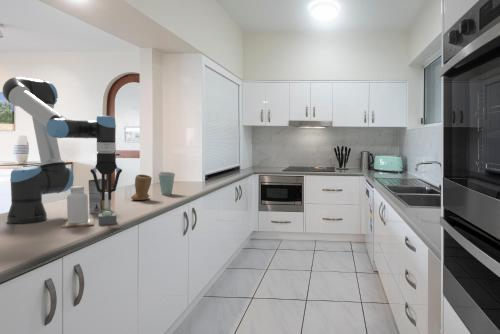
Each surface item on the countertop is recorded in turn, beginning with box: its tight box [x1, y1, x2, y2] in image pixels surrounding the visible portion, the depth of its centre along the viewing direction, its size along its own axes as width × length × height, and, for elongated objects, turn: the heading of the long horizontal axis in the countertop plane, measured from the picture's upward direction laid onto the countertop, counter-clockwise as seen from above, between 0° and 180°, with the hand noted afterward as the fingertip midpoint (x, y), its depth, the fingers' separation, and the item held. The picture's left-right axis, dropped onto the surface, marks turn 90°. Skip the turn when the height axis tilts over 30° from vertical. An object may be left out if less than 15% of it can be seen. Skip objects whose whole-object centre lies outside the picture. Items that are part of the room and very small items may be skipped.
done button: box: [103, 210, 112, 216], centre depth 171 cm, size 3×3×4 cm
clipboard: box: [61, 217, 95, 229], centre depth 169 cm, size 12×14×1 cm
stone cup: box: [130, 174, 152, 201], centre depth 240 cm, size 15×12×15 cm
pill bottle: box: [66, 185, 89, 224], centre depth 169 cm, size 8×8×15 cm
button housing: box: [98, 212, 117, 226], centre depth 172 cm, size 7×7×4 cm
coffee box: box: [88, 178, 112, 214], centre depth 198 cm, size 9×6×16 cm
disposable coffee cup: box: [157, 171, 176, 196], centre depth 265 cm, size 11×11×15 cm
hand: (106, 207), depth 171 cm, fingers closed
